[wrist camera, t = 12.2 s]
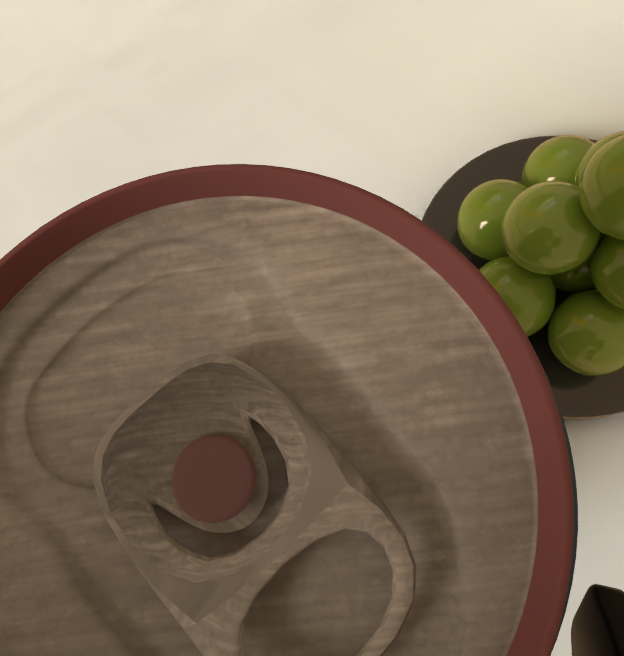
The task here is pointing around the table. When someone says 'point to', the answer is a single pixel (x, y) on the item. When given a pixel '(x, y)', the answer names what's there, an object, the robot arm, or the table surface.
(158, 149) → the table surface
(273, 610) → the soda can
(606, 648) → the robot arm
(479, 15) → the table surface
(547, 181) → the grapes
